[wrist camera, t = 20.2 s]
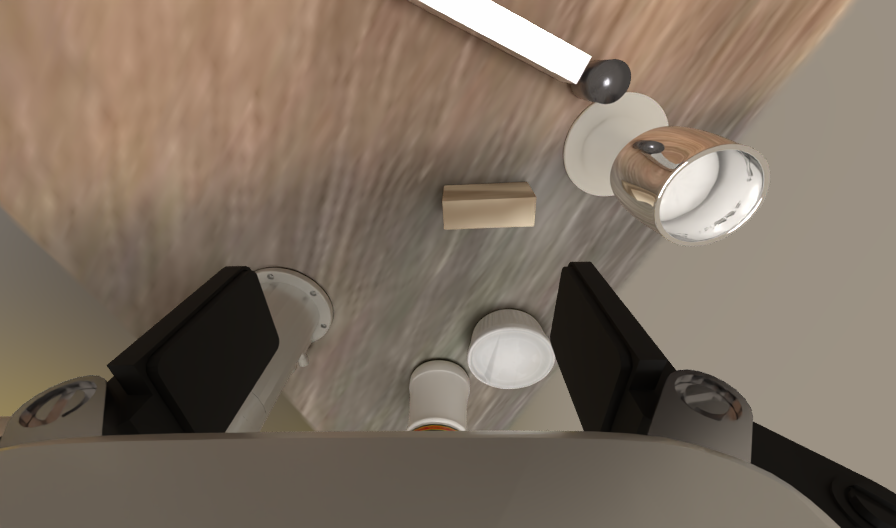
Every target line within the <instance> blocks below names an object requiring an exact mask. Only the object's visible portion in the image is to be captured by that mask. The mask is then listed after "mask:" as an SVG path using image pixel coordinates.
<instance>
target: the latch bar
mask: <svg viewBox="0 0 896 528" xmlns="http://www.w3.org/2000/svg"><path fill="white" fill-rule="evenodd" d="M408 1H410V2H411V3H413V4H415V5H417V6H419V7H421V8H423V9H425V10H427V11H429V12H430V13H432V14H434V15H436V16H438V17H440V18H442V19H444V20H446V21H447V22H449V23H451V24H453V25H455V26H457V27H459V28H461V29H463V30H465V31H466V32H468V33H470V34H472V35H474V36H476V37H478V38H480V39H482V40H484V41H485V42H487V43H489V44H491V45H493V46H495V47H497V48H499V49H501V50H503V51H504V52H506V53H508V54H510V55H512V56H514V57H516V58H518V59H520V60H521V61H523V62H525V63H527V64H529V65H531V66H533V67H535V68H537V69H539V70H540V71H542V72H544V73H546V74H548V75H550V76H552V77H554V78H556V79H558V80H559V81H561V82H565V83H571V89H572V92H573V93H574V95H575V96H576V97H578V98H580V99H584V100H588V101H592V102H596V103H600V104H611V103H614V102H616V101H617V100H619V99H620V98H621V97H622V96H623V95H624V94H625V93H626V91H627V89H628V87H629V85H630V81H631V72H630V69H629V67H628V65H627V64H626V63H625V62H623V61H621V60H617V59H613V60H597V61H589V60H590V58H591V57H592V56H590V55H588V54H586V53H584V52H583V51H581V50H579V49H577V48H575V47H574V46H572V45H570V44H568V43H566V42H565V41H563V40H561V39H559V38H557V37H555V36H554V35H552V34H550V33H548V32H546V31H545V30H543V29H541V28H539V27H537V26H536V25H534V24H532V23H530V22H528V21H527V20H525V19H523V18H521V17H519V16H518V15H516V14H514V13H512V12H510V11H509V10H507V9H505V8H503V7H501V6H499V5H498V4H496V3H494V2H492V1H490V0H408Z"/></svg>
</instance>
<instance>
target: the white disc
mask: <svg viewBox="0 0 896 528" xmlns="http://www.w3.org/2000/svg"><path fill="white" fill-rule="evenodd" d="M613 117H628V118H631V119H634V120H635V121H637V122H638V123H639V124H641V125H642V126H643V127H659V126H668V121H667V117H666V115H665V112H664V111H663V109H662V107H661V106H660V105H659V104H658V103H657V102H656V101H655V100H653V99H652V98H650V97H648V96H646V95H643V94H640V93H634V92H626V93H625V94H624V95H623V96H622V97H621V98H620V99H619V100H617V101H616V102H614V103H611V104H600V103H596V102H594V103H593V104H591V105H590V106H588V107H587V108H586V109H585V110H584V111H583V112H582V113H581V114H580V115H579V116H578V118H577V119H576V120H575V122H574V123H573V125H572V126H571V128H570V130H569V132H568V135H567V137H566V140H565V144H564V149H563V161H564V166H565V170H566V172H567V174H568V176H569V178H570V179H571V181H572V182H573V183H574V184H575V185H576V186H577V187H578V188H580V189H581V190H583V191H584V192H586V193H589V194H592V195H596V196H613V195H614V193H613V192H612V190H611V188H610V186H609V185H608V183H607V181H604V180H600V179H597V178H595V177H593V176H592V175H590V174H589V173H588V172H587V171H586V169H585V167H584V165H583V162H582V148H583V145H584V142H585V140H586V138H587V136H588V135H589V133H590V132H591V131H592V130H593V129H594V128H595V127H596V126H597V125H598V124H600V123H601V122H603V121H605V120H607V119H610V118H613Z"/></svg>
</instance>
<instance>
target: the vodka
mask: <svg viewBox="0 0 896 528" xmlns="http://www.w3.org/2000/svg"><path fill="white" fill-rule="evenodd" d="M409 392H410V410H409V421H408V426H407V429H406V431H467V403H468V397H469V393H470V381H469V377H468V375H467V374H466V372H465V371H464V370H463V369H462V368H461V367H460V366H459V365H457V364H455V363H452V362H449V361H444V360H434V361H429V362H426V363H423V364H421V365H420V366H418V367H417V368H416V369H415V371H414V372H413V373H412V375H411V378H410V384H409Z"/></svg>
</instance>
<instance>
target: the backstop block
mask: <svg viewBox="0 0 896 528" xmlns="http://www.w3.org/2000/svg"><path fill="white" fill-rule="evenodd" d="M442 205H443V220H444V230H447V229H473V228H499V227H525V226H534V220H535V208H536V196H535V194H534V192H533V191H532V189H531V187H530V186H529V184H528V183H527V182H511V183H489V184H467V185H445V186H444V191H443V199H442Z"/></svg>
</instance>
